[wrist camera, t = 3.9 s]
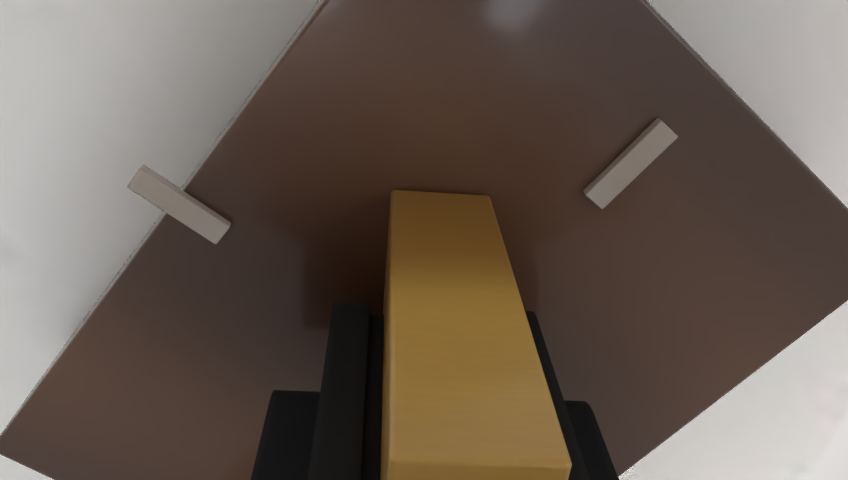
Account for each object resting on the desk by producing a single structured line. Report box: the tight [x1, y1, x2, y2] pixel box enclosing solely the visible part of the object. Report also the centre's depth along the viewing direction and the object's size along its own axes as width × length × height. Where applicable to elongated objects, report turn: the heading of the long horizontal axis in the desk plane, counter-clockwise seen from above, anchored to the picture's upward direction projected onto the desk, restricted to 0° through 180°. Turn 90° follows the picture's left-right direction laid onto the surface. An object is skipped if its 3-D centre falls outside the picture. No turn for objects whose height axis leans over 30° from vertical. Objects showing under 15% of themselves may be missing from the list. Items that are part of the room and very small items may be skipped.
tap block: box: [0, 0, 848, 480], centre depth 12 cm, size 12×10×3 cm
